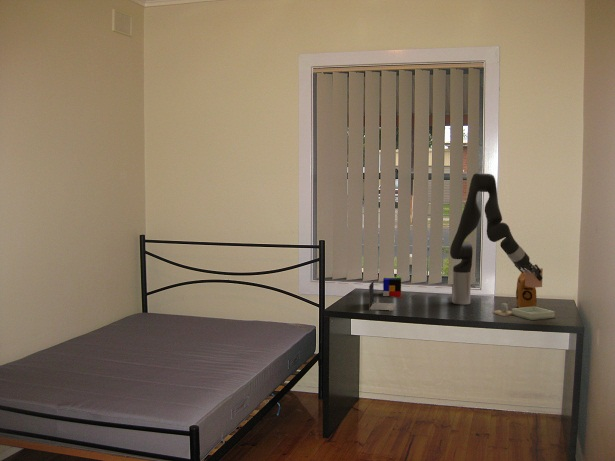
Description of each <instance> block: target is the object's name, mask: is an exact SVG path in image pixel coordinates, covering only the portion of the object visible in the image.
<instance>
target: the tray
mask: <svg viewBox="0 0 615 461" xmlns="http://www.w3.org/2000/svg"><path fill="white" fill-rule="evenodd" d="M511 311H512V313H513V315H512V316H516V317H519V318H522V319H526V320H529V321H536V320H538V321H539V320H546V319H554V318H555V316H556V314H555V313H556V312H555V310H549V309H546V308H542V307H538V306H536V307H535V306H532V307H522V308H519V307H516V308H511Z"/></svg>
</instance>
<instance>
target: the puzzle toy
mask: <svg viewBox="0 0 615 461" xmlns="http://www.w3.org/2000/svg"><path fill="white" fill-rule="evenodd" d="M382 282H383V283H382V284H383V285H382V288H383V290H382V296H394V297H393V298H401V297H402V277H401V276H384V277H383V281H382Z"/></svg>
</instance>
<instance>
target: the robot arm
mask: <svg viewBox="0 0 615 461" xmlns="http://www.w3.org/2000/svg"><path fill="white" fill-rule="evenodd" d="M480 192H482V193H488V196H489V197H488V199H487V201H486V203H485V205H484V214H485V217H486V236H487V238H488V239H489V241H490V242H493V243H496V242H499V241H500V244H499V245H500V248H501V249H502V250H503V251H504V253H505V254H506V255H507V257H508V258H509V259H510V261H511V262H512V264H514V267H515V268H516V269H517V270H518V271H519V272H520V274H521V273H523V272H524V274H525V273H526V271H528V272H530V273H531V274H534V275H535V276H536V278H537V279H538V280H539V281H541V280H542V281H543V275H542V276H541V275H540V273H541V270H540V269H539V268H540V267H539V266H538V264H536V263H535V264H533V263H531V261H530V259H531V258H530V256H529V255H528V254H527V253H526V251H525V250H524V248H523V247H522V246H520V244H518V242H517V241H516V240H515V238H514V237H513V235H512V232H511V229H510V226H509V225H508V224H507V223H505V222H502V221H503V217H502V213H501V210H500V205H499V201H498V200H499V199H498V190H497V182H496V178H495V176H494V175H493V174H492V173H480V172H475V173H474V174H473V175H472V177H471V180H470V184H469V188H468V193H467V198H466V201H465V204H464V207H463V211H462V213H461V216H460V221H459V224H458V227H457V230H456V232H455V235H454V238H453V240H452V241H451V242H452V243H451V245H450V248H449V252H450V253H449V255H450V257H451V259H453V260H461V261H460V262H458V263H457V264H455V265H454V266H453V267H452V268H453V269H452V272H453V273H452V285H451V302H452V303H453V304H455V305H470V304H471V289H472V288H471V281H472V280H471V279H472V277H471V273H472V266H473V265H472V264H473V255H474V252H473V245H472V243H471V242H469V241H465V240H466V238H467V237H468V236H470V235H471V234H472V232H474V230H476V228H477V227H478V225H479V222H480V219H481V216H482V211H481V208H480V206H479V202H478V200H477V195H478V193H480ZM501 240H502V241H501ZM532 269H533V270H532ZM531 270H532V271H531ZM534 272H535V273H534Z"/></svg>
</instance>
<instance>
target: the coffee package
mask: <svg viewBox="0 0 615 461" xmlns="http://www.w3.org/2000/svg"><path fill="white" fill-rule="evenodd" d="M536 288H537V287H535V288H532V287H527V286H525V274H524V272H523V273H521V272H520V274H519V276H518V277H517V282H516V288H515V289H516V290H515V298H516V299H515V300H516V306H517V308H522V307H532V306H535V307H537V289H536Z"/></svg>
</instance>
